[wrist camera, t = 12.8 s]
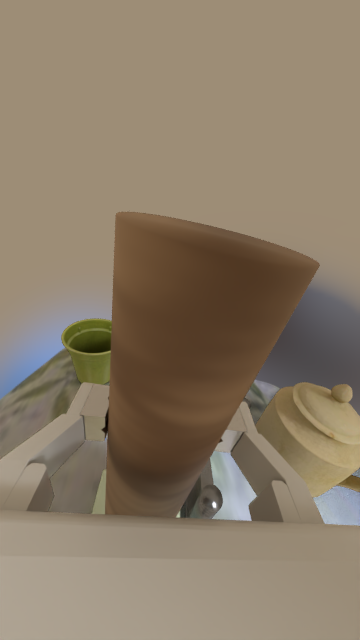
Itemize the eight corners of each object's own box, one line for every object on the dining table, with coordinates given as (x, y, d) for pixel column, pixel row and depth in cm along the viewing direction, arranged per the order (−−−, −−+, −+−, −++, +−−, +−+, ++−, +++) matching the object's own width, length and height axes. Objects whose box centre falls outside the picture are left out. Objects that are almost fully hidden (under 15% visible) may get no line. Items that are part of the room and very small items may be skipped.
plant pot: (100, 348, 41) (100, 312, 36) (134, 372, 37) (139, 335, 33) (54, 374, 33) (47, 332, 29) (91, 406, 30) (89, 364, 26)
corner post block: (229, 430, 31) (248, 397, 27) (254, 541, 21) (291, 515, 17) (180, 425, 30) (192, 390, 26) (182, 538, 20) (203, 510, 16)
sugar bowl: (334, 438, 34) (402, 377, 26) (374, 526, 24) (497, 470, 17) (248, 409, 35) (289, 343, 28) (254, 480, 26) (317, 411, 18)
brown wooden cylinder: (176, 462, 17) (266, 238, 8) (176, 552, 12) (383, 288, 3) (115, 457, 16) (135, 208, 7) (93, 550, 12) (75, 221, 3)
